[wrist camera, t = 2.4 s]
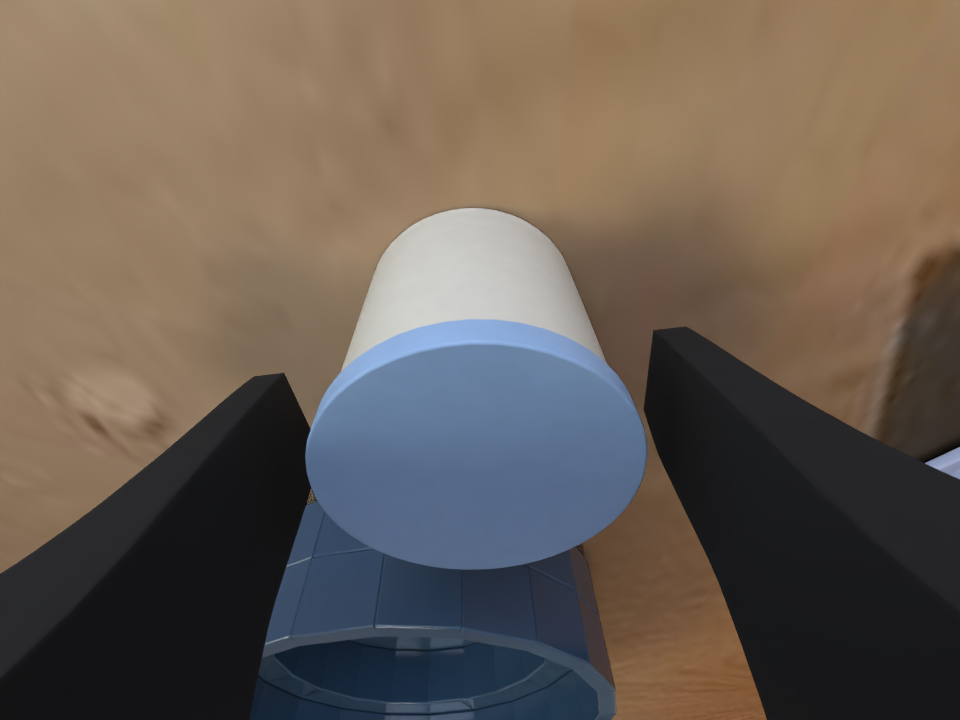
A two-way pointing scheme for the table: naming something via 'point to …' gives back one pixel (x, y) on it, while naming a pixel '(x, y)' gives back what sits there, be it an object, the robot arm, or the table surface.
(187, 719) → the robot arm
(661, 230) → the table surface
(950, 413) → the table surface
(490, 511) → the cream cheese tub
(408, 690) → the bowl
